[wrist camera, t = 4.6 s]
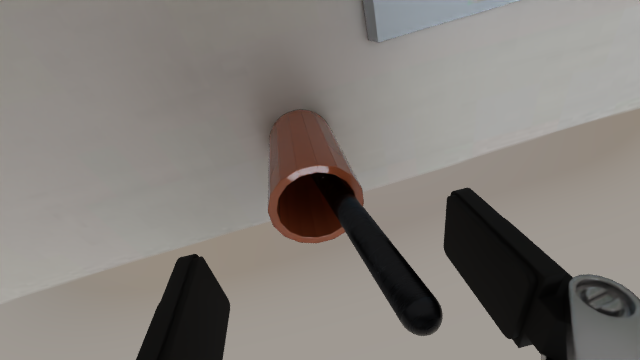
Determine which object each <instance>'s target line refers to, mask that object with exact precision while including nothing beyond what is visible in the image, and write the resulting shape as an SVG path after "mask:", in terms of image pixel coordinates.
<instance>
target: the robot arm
mask: <svg viewBox="0 0 640 360" xmlns="http://www.w3.org/2000/svg"><path fill="white" fill-rule="evenodd" d="M444 250H445V253H446V255H447V257H448V258H449V259H450V261H451V262H452V263H453V265H454V266H455V268H456V269H457V271H458V272H459V273H460V275H461V276H462V277H463V279H464V280H465V282H466V283H467V284H468V286H469V287H470V289H471V290H472V291H473V293H474V294H475V295H476V297H477V298H478V300H479V301H480V302H481V304H482V305H483V307H484V308H485V309H486V311H487V312H488V314H489V315H490V316H491V317H492V319H493V320H494V322H495V323H496V325H497V326H498V327H499V329H500V330H501V332H502V333H503V334H504V335H505V336H506V337H507V338H508V339H512V340H513V341H514V342H515V344H516V345H517V346H518V348H521V347H524V346H528V345H532V344H533V345H534V346H535V347H536V349H537V350H538V351H539V353H540V354H541V360H640V299H639V298H638V297H637V296H636V295H635V294H634V293H633V292H631V291H630V290H629V289H627V288H625V287H624V286H623V285H621V284H619V283H617V282H615V281H613V280H610V279H608V278H604V277H601V276H596V275H579V276H576V277H574V278H573V277H572V276H570V275H569V274H568V273H567V272H566V271H565V270H564V269H563V268H561V267H560V266H559V265H558V264H557V263H556V262H555V261H553V260H552V259H551V258H550V257H549V256H548V255H546V254H545V253H544V252H543V251H542V250H541V249H540V248H539V247H537V246H536V245H535V244H534V243H533V242H532V241H530V240H529V239H528V238H527V237H526V236H525V235H524V234H523V233H521V232H520V231H519V230H518V229H517V228H516V227H515V226H513V225H512V224H511V223H510V222H509V221H508V220H506V219H505V218H503V217H502V216H501V215H500V214H499V213H497V212H496V211H495V210H494V209H493V208H492V207H491V206H490V205H488V204H487V203H486V202H485V201H484V200H483V199H482V198H481V197H479V196H478V195H477V194H476V193H475V192H474V191H473V190H471V189H470V188H464V189H460V190H456V191H453V192H452V193H451V196H448V198H447V206H446V220H445V235H444ZM229 312H230V303H229V300H228V298H227V296H226V295H225V293H224V291H223V290H222V288H221V286H220V285H219V283H218V281H217V280H216V278H215V276H214V275H213V273H212V271H211V270H210V268H209V267H208V265H207V263H206V261H205V260H204V258H203V257H199V256H198V255H197V254H193V255H189V256H184V257H180V258H179V259H178V260H177V262H176V264H175V267H174V269H173V272H172V274H171V277H170V279H169V282H168V284H167V287H166V289H165V292H164V294H163V297H162V299H161V302H160V303H159V305H158V306H157V309H156V311H155V314H154V317H153V319H152V321H151V324H150V326H149V329H148V331H147V334H146V336H145V339H144V341H143V344H142V346H141V349H140V351H139V354H138V356H137V359H136V360H222V359H223V352H224V345H225V339H226V332H227V325H228V318H229Z"/></svg>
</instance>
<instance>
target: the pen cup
mask: <svg viewBox="0 0 640 360" xmlns="http://www.w3.org/2000/svg"><path fill="white" fill-rule="evenodd" d="M317 172H318V173H327V174H334V175H336V176H338V177H339V178H341V180H342V181H343V182H344V183H345V185H346V186H347V187H348V189H349V190H350V191H351V192H352V194H353V195H354V196H355V197H356V199H357V200H358V201H359V202H360V204H361V205H362V206H363V204H364V200H363V192H362V188H361V185H360V184H359V182H358V180H357V178H356V176H355V174H354V172H353V170H352V168H351V166H350V164H349V163H348V161H347V159H346V157H345V155H344V153H343V151H342V149H341V147H340V145H339V143H338V142H337V140H336V138H335V136H334V134H333V132H332V130H331V129H330V127H329V125H328V124H327V122H326V121H325V120H324V119H323V118H322V117H321V116H320V115H318V114H316V113H314V112H312V111H308V110H295V111H291V112H288V113H286V114H284V115H283V116H281V117H280V118H279V119H278V120H277V121H276V122H275V124H274V125H273V127H272V129H271V132H270V137H269V166H268V213H269V216H270V219H271V221H272V223H273V226H274V227H275V228H276V229H277V230H278V231H279V232H280V233H281V234H283V235H284V236H285V237H287V238H290V239H292V240H295V241H298V242H301V243H303V242H304V243H320V242H323V241H328V240H332V239H335V238H336V237H338V236H339V235H341V234H343V233H344V232H345V230H344V228H343V227H342V225H341V224H340V222H339V220H338V219H337V217H336V215H335V214H334V212H333V211H332V209H331V207H330V206H329V204H328V202H327V201H326V199H325V198H324V196H323V194H322V193H321V191H320V189H319V188H318V186H317V185H316V183H315V181H314V180H313V178H312V176H311V175H310V174H313V173H317Z"/></svg>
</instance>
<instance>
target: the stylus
mask: <svg viewBox="0 0 640 360" xmlns="http://www.w3.org/2000/svg"><path fill="white" fill-rule="evenodd" d="M310 175H311V176H312V178H313V180H314V181H315V183H316V185H317V186H318V188H319V189H320V191H321V193H322V194H323V196H324V198H325V199H326V201H327V202H328V204H329V206H330V207H331V209H332V211H333V212H334V214H335V215H336V217H337V219H338V220H339V222H340V224H341V225H342V227H343V228H344V230H345V232H346V233H347V235H348V236H349V238H350V240H351V241H352V243H353V245H354V246H355V248H356V250H357V251H358V253H359V255H360V256H361V258H362V259H363V261H364V262H365V264H366V266H367V267H368V269H369V271H370V272H371V274H372V276H373V277H374V279H375V281H376V282H377V284H378V285H379V287H380V289H381V290H382V292H383V294H384V295H385V297H386V299H387V300H388V302H389V303H390V305H391V307H392V308H393V310H394V311H395V313H396V315H397V316H398V318H399V320H400V321H401V323H402V324H403V325H404V327H405V328H406V329H407V330H408V331H410V332H412V333H413V334H416V335H419V336H427V335H431V334H433V333H434V332H436V331H437V330H438V328H439V327H440V325H441V322H442V309H441V306H440V304H439V302H438V301H437V299H436V298H435V297H434V295H433V294H432V293H431V292H430V290H429V289H428V288H427V287H426V286H425V284H424V283H423V282H422V280H421V279H420V278H419V276H418V275H417V274H416V273H415V271H414V270H413V269H412V268H411V267H410V265H409V264H408V263H407V262H406V260H405V259H404V258H403V256H402V255H401V254H400V253H399V251H398V250H397V249H396V248H395V247H394V245H393V244H392V243H391V241H390V240H389V239H388V238H387V236H386V235H385V234H384V233H383V231H382V230H381V229H380V228H379V226H378V225H377V224H376V222H375V221H374V220H373V219H372V217H371V216H370V215H369V214H368V212H367V211H366V210H365V209H364V207H363V206H362V205H361V204H360V202H359V201H358V200H357V199H356V197H355V196H354V195H353V194H352V192H351V191H350V190H349V189H348V187H347V186H346V185H345V183H344V182H343V181H342V180H341V178H339V177H338V176H336V175H334V174H327V173H318V172H317V173H313V174H310Z"/></svg>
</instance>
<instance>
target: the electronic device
mask: <svg viewBox="0 0 640 360" xmlns="http://www.w3.org/2000/svg"><path fill="white" fill-rule="evenodd" d="M516 1H520V0H363V4H364V11H365V19H366V26H367V33H368V40H370V41H374V42H378V43H379V42H382V41H385V40H389V39H392V38H396V37H399V36H402V35H406V34H409V33H412V32H416V31H419V30H422V29H426V28H429V27H432V26H436V25H439V24H443V23H446V22H449V21H453V20H456V19H459V18H463V17H466V16H469V15H473V14H476V13H480V12H483V11H486V10H490V9H493V8H496V7H500V6H503V5H506V4H510V3H513V2H516Z"/></svg>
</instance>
